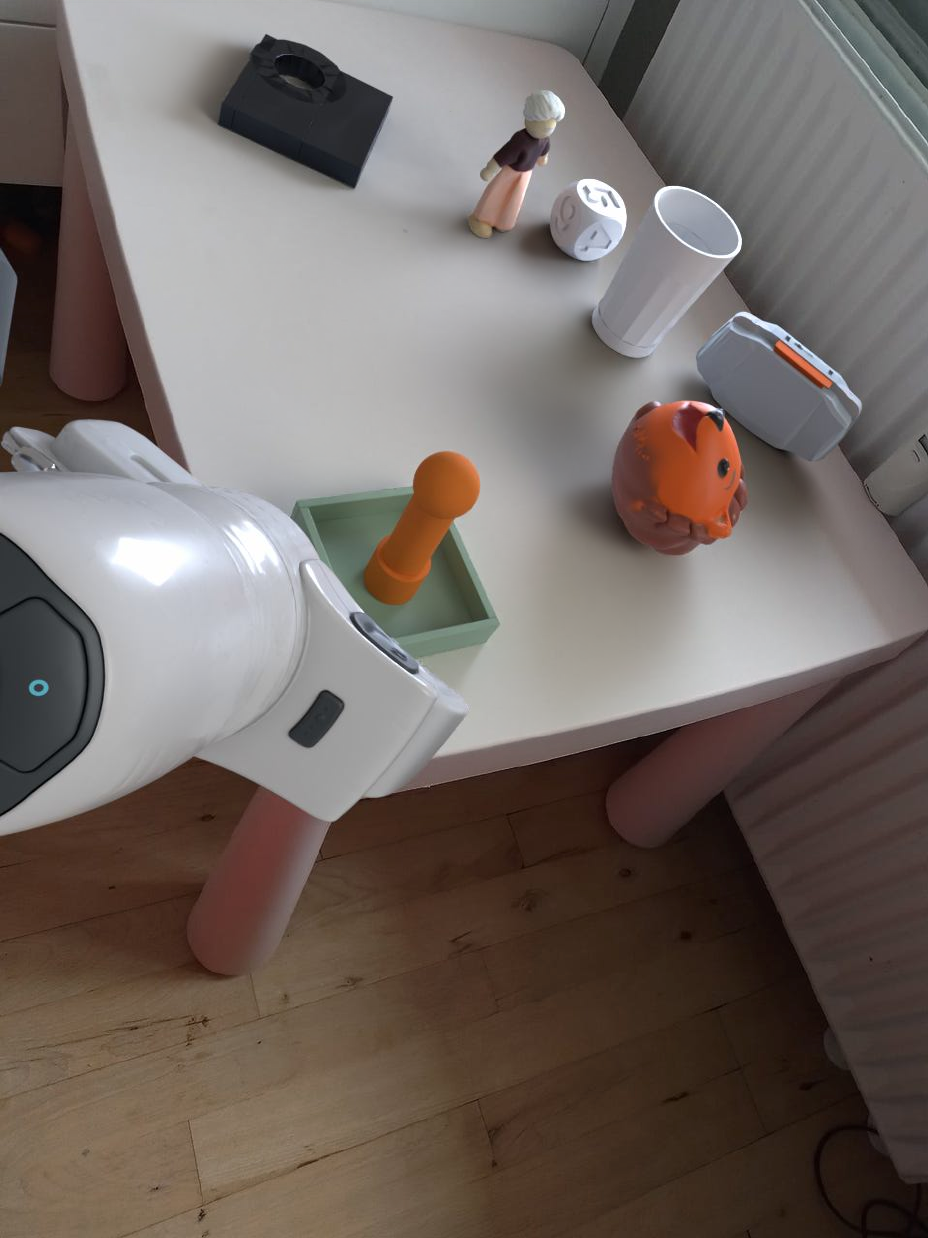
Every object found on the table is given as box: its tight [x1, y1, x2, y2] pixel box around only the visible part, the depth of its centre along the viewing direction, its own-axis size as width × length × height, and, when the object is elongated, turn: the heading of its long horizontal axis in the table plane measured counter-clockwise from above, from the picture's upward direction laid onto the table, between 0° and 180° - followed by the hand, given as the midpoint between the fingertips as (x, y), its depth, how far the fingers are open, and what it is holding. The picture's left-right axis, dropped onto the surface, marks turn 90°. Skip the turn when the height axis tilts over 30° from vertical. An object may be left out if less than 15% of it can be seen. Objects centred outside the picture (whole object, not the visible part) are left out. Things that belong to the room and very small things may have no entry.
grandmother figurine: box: [466, 89, 566, 239], centre depth 82 cm, size 8×4×13 cm, turn 143°
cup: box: [591, 185, 742, 359], centre depth 82 cm, size 8×8×12 cm
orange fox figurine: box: [611, 400, 749, 557], centre depth 71 cm, size 12×10×11 cm
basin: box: [289, 485, 501, 659], centre depth 63 cm, size 11×10×2 cm
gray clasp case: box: [695, 311, 863, 463], centre depth 84 cm, size 14×3×8 cm, turn 56°
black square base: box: [217, 33, 394, 189], centre depth 84 cm, size 12×13×2 cm
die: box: [549, 178, 627, 262], centre depth 88 cm, size 5×5×5 cm
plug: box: [363, 450, 481, 605], centre depth 58 cm, size 4×4×12 cm
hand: (305, 586), depth 48 cm, fingers open, 8 cm apart
